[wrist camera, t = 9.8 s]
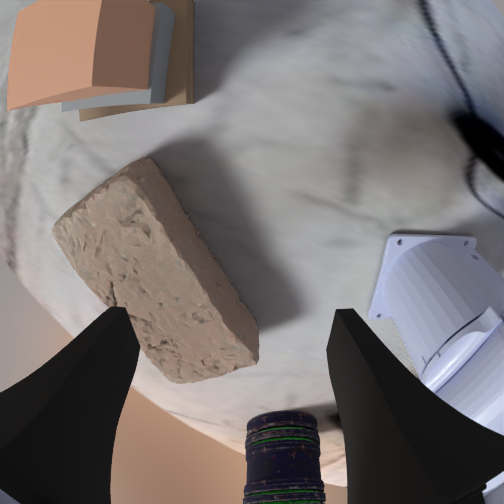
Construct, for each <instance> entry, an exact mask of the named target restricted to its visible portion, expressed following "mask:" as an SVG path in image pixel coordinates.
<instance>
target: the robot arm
mask: <svg viewBox="0 0 504 504" xmlns="http://www.w3.org/2000/svg"><path fill="white" fill-rule="evenodd" d="M399 239H401V241H400V242H399V243H397V242H398V240H399ZM465 241H466V242H465ZM476 245H477V239H476V238H475V237H473V236H449V235H421V234H391V235H390V236H389V237H388V239H387V243H386V247H385V252H384V256H383V260H382V264H381V268H380V272H379V276H378V280H377V284H376V288H375V291H374V295H373V298H372V302H371V305H370V308H369V312H368V317H369V319H370V320H379V319H391V318H392V319H393V321H394V323H395V325H396V327H397V329H398V331H399V333H400V335H401V338H402V340H403V342H404V344H405V346H406V348H407V351H408V353H409V355H410V357H411V360H412V362H413V364H414V366H415V369H416V371H417V373H418V376H419V378H420V380H418V379H417V378H416V377H415V376H414V375H413V374H412V373H411V372H410V371H409V370H408V369H407V368H406V367H405V366H404V365H403V364H402V363H401V362H400V361H399V360H398V359H397V358H396V357H395V356H394V355H393V354H392V352H391V351H390V350H389V349H388V348H387V347H386V346H385V345H384V344H383V342H382V341H381V340H380V339H379V338H378V337H377V336H376V334H375V333H374V332H373V331H372V330H371V329H370V327H369V326H368V325H367V324H366V323H365V322H364V320H363V319H362V318H361V317H360V316H359V315H358V314H357V312H356V311H355V310H354V309H353V308H351V309H336V311H335V316H334V320H333V324H332V329H331V333H330V337H329V341H328V345H327V349H326V352H327V360H328V367H329V375H330V379H331V383H332V387H333V391H334V395H335V399H336V403H337V408H338V412H339V416H340V420H341V424H342V429H343V434H344V442H345V452H346V464H347V489H348V504H504V278H503V277H502V276H501V275H500V274H499V273H498V272H497V271H496V270H495V269H494V268H493V267H492V266H491V265H490V264H489V263H488V262H487V261H486V260H485V259H484V258H483V257H482V256H481V255H480V254H479V253H478V252H477V251H476V250H475V248H476ZM378 314H379V315H378ZM140 347H141V346H140V343H139V341H138V338H137V336H136V333H135V331H134V328H133V326H132V323H131V320H130V318H129V315H128V312H127V309H126V307H117V306H111V307H110V308H108V309H107V310H106V311H105V312H104V313H102V314H101V315H100V316H99V317H98V318H97V319H96V320H94V321H93V322H92V323H91V324H90V325H89V326H88V327H87V328H86V329H84V330H83V331H82V332H81V333H80V334H79V335H78V336H77V337H76V338H75V339H73V340H72V341H71V342H70V343H69V344H68V345H67V346H65V347H64V348H63V349H62V350H61V351H60V352H59V353H57V354H56V355H55V356H54V357H53V358H51V359H50V360H49V361H48V362H46V363H45V364H44V365H43V366H41V367H40V368H39V369H37V370H36V371H35V372H33V373H32V374H30V375H29V376H27V377H26V378H24V379H23V380H21V381H20V382H18V383H16V384H14V385H13V386H11V387H10V388H8V389H6V390H4V391H2V392H1V393H0V504H111V495H110V482H111V464H112V454H113V447H114V441H115V435H116V429H117V425H118V421H119V418H120V414H121V412H122V408H123V405H124V402H125V399H126V396H127V394H128V391H129V388H130V385H131V382H132V379H133V376H134V373H135V370H136V366H137V361H138V357H139V352H140ZM482 492H485V493H484V494H483V493H482Z"/></svg>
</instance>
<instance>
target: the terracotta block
mask: <svg viewBox="0 0 504 504" xmlns="http://www.w3.org/2000/svg"><path fill="white" fill-rule="evenodd" d="M155 11H156V7H154V6H153V5H152V4H151V3H149V2H148V1H147V0H39V1H37V2H35V3H33V4H32V5H30V6H28V7H26V8H24V9H23V10H21V11H19V12H18V16H17V21H16V25H15V30H14V36H13V42H12V48H11V56H10V64H9V75H8V92H7V111H8V110H13V109H18V108H24V107H30V106H36V105H43V104H50V103H58V102H68V101H75V100H80V99H85V98H91V97H96V96H102V95H108V94H115V93H122V92H130V91H139V90H148V80H149V65H150V53H151V43H152V34H153V25H154V18H155Z"/></svg>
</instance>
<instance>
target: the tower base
mask: <svg viewBox="0 0 504 504" xmlns="http://www.w3.org/2000/svg"><path fill="white" fill-rule="evenodd" d="M148 2H149V3H151V4H153V3H162V2H164V3H165V4H166V5H167V6H168V7H169V8H170V9H171V10H172V11H173V12H174V13H175V14H176V15H175V21H174V27H173V33H172V40H171V47H170V54H169V62H168V71H167V80H166V91H165V103H156V104H130V105H115V106H104V107H94V108H86V109H79V115H80V122H81V121H85V120H91V119H96V118H100V117H105V116H110V115H115V114H120V113H125V112H131V111H137V110H144V109H150V108H158V107H166V106H175V105H185V104H194V15H195V3H194V2H193V0H149V1H148Z"/></svg>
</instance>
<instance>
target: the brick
mask: <svg viewBox="0 0 504 504" xmlns="http://www.w3.org/2000/svg"><path fill="white" fill-rule="evenodd" d="M52 234H53V236H54V238H55V239H56V241H57V243H58V245H59V246H60V247H61V248H62V250H63V252H64V254H65V256H66V257H67V259H68V260H69V262H70V263H71V265H72V267H73V269H74V270H75V271H76V272H77V273H78V275H79V276H80V277H81V278H82V280H83V281H84V282H85V283H86V285H87V286H88V287H89V288H90V289H91V290H92V291H93V292H94V293H95V294H96V295H97V297H98V298H99V299H100V300H101V301H102V302H103V303H104V304H106V305H107V306H108V307H111V306H117V307H126V309H127V312H128V315H129V318H130V320H131V323H132V326H133V328H134V331H135V333H136V336H137V338H138V341H139V343H140V346H141V347H140V348H141V350H142V351H144V353H145V355H146V356H147V358H149V359H150V361H151V362H152V364H154V365H155V366H156V367H157V368H158V369H159V371H160V372H161V373H162V374H163V375H164V376H165V377H166V378H167V379H168V380H169V381H171V382H174V383H179V384H183V383H189V382H191V383H194V382H197V381H202V380H206V379H209V378H215V377H219V376H222V375H224V374H227V373H230V372H232V371H235V370H237V369H239V368H243V367H249V366H252V365H256V364H257V362H258V360H259V353H258V350H259V331H258V325H257V323H256V320H255V318H254V317H253V315H252V314H251V312H250V311H249V309H248V307H247V306H246V305H245V304H244V303H243V302H242V301H240V300H239V293H238V291H237V289H236V288H235V287H234V286H233V285H232V284H231V282H230V280H229V279H228V278H227V276H226V274H225V273H224V271H223V270H222V268H221V267H220V265H219V263H218V261H217V260H216V259H215V258H214V257H213V256H212V253H211V251H210V250H209V248H208V247H207V246H206V244H205V243H204V241H203V240H202V239H201V238H200V235H199V234H198V232H197V230H196V229H195V227H194V225H193V224H192V222H191V221H190V220H189V218H188V217H187V216H186V214H185V213H184V211H183V208H182V206H181V204H180V202H179V201H178V199H177V197H176V195H175V193H174V191H173V190H172V188H171V186H170V185H169V183H168V182H167V180H166V179H165V178H164V176H163V175H162V173H161V171H160V169H159V168H158V167H157V165H156V164H155V162H154V161H153V160H152V159H151V158H146V159H145V158H141V159H139V160H138V161H135V162H132V163H131V164H129V165H127V166H126V167H124V168H123V169H121V170H120V171H119V172H118V173H117V174H116V175H115V176H114V177H111V178H109V179H107V180H106V181H105V182H104V183H103V184H101V185H100V186H98V187H97V188H95V189H94V190H92V191H91V192H90V193H88V194H87V195H86V196H85V197H84V198H83V199H82V200H80V201H79V202H77V203H76V204H75V205H73V206H72V207H71V208H70V209H69V210H67V211H66V212H65V213H64V214H63V215H62V216H61V217H60V218H59V220H58V221H57V222H56V223H55V225H54V227H53V230H52Z"/></svg>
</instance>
